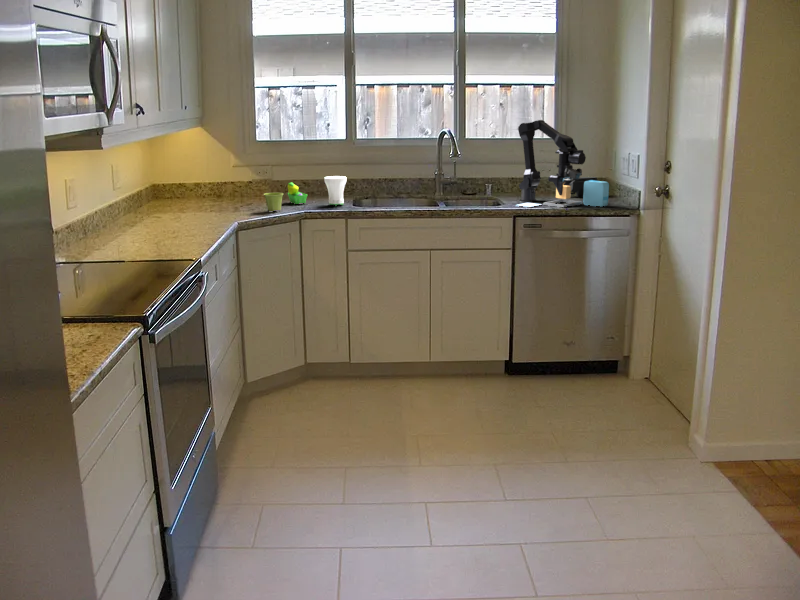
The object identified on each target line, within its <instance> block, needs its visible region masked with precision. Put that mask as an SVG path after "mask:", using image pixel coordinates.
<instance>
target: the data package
mask: <svg viewBox="0 0 800 600" xmlns="http://www.w3.org/2000/svg"><path fill="white" fill-rule="evenodd" d="M609 191H610V183H609V182H608V181H604V180H602V181H600V180H598V181H594V180H590V181H585V182H584V193H583V197H582V205H584V206H588V205H590V206H589V207H596V206H600V207H599V208H602V207H603V206H604V207H607V206H608V205H609V196H610V195H609V194H610V192H609ZM604 207H603V208H604Z"/></svg>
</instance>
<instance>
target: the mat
mask: <svg viewBox="0 0 800 600" xmlns="http://www.w3.org/2000/svg"><path fill="white" fill-rule="evenodd" d="M539 205H542V206H543V204H541V203H533V202H524V203H519V204H515V207H519V206H523V207H522V208H527V207H533V208H535V207H534V206H538V207H540V206H539Z"/></svg>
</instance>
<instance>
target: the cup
mask: <svg viewBox="0 0 800 600" xmlns="http://www.w3.org/2000/svg"><path fill="white" fill-rule="evenodd" d="M323 180H324V184H325V186H326V188H327V191H328V204H329V206H330V205H333V206H334V205H335V206H334V207H337V205H338V206H340V205H342V206H344V203H345V199H344V191H345V187H346V183H347V180H348V179H347V177H346V176H343V175H341V176H340V175H333V176H332V175H331V176H325V177H324V179H323Z"/></svg>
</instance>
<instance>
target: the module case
mask: <svg viewBox="0 0 800 600" xmlns="http://www.w3.org/2000/svg"><path fill="white" fill-rule="evenodd" d="M560 202H566V203H563V204H562V203H560ZM555 203H557V204H555ZM580 204H582V205H583V200H572V199H562V198H559V199H555V200H551V201H545V202H543V204H542V206H543V205H548V206H547V207H550V206H557V207H556V208H559V207H567V206H572V207H574V206H573V205H577V206H581V205H580ZM567 208H568V207H567Z"/></svg>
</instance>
